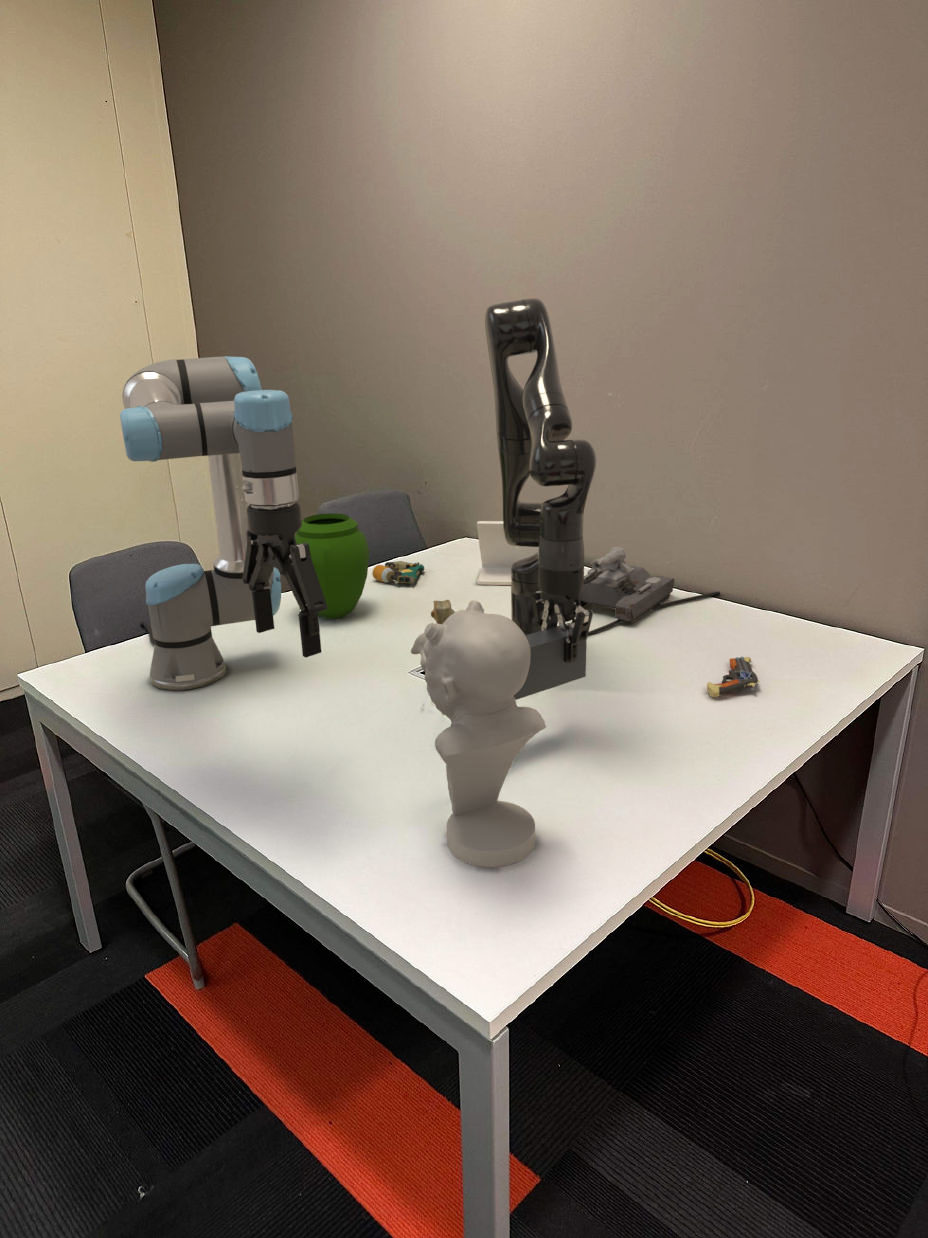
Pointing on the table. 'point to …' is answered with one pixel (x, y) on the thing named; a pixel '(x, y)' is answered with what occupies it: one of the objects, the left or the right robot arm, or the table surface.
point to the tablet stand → (498, 554)
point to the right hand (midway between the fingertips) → (560, 656)
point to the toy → (623, 587)
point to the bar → (551, 662)
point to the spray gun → (398, 572)
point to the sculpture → (441, 611)
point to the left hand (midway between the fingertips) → (288, 642)
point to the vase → (336, 560)
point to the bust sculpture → (481, 729)
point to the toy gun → (735, 678)
